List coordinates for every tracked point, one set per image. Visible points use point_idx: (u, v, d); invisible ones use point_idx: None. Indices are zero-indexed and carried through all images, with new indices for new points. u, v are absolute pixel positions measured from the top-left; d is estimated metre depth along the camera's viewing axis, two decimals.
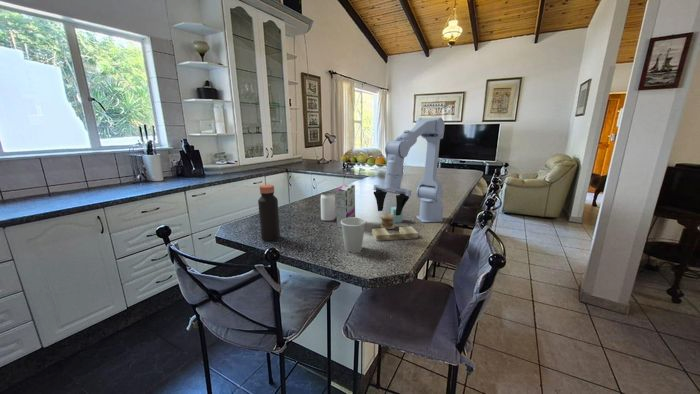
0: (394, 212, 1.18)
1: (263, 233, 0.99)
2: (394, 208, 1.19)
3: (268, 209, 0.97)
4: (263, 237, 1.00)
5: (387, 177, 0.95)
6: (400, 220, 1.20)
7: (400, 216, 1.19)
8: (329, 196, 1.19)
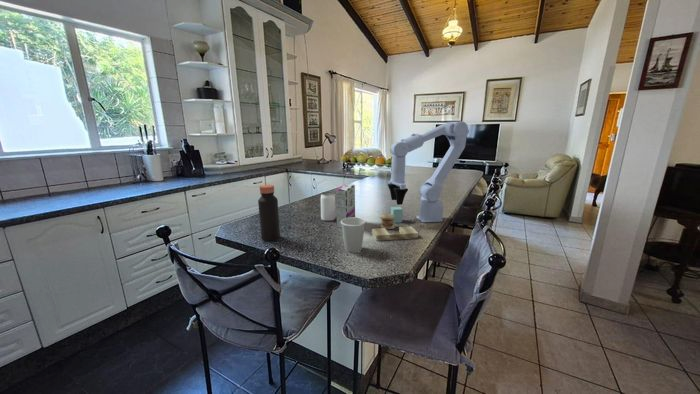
0: (394, 212, 1.18)
1: (263, 233, 0.99)
2: (394, 208, 1.19)
3: (268, 209, 0.97)
4: (263, 237, 1.00)
5: (391, 173, 1.17)
6: (400, 220, 1.20)
7: (400, 216, 1.19)
8: (329, 196, 1.19)
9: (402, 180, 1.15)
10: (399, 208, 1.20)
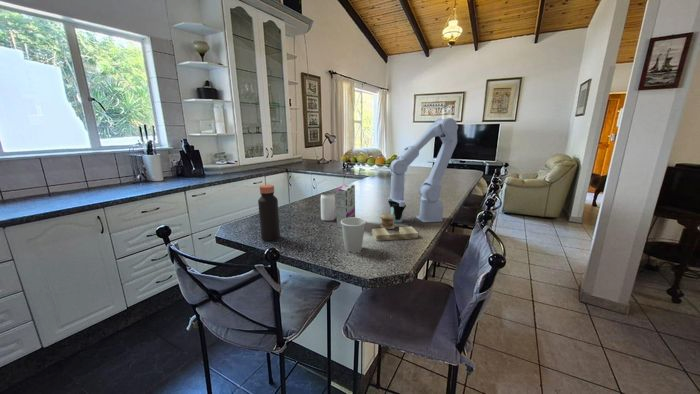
0: None
1: (263, 233, 0.99)
2: None
3: (268, 209, 0.97)
4: (263, 237, 1.00)
5: None
6: (400, 220, 1.20)
7: None
8: (329, 196, 1.19)
9: (401, 197, 1.17)
10: None
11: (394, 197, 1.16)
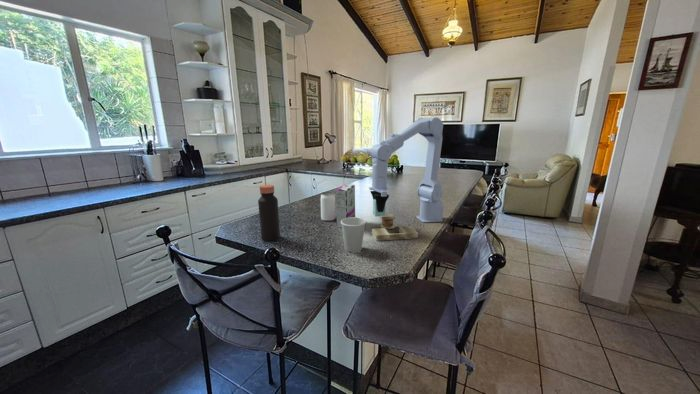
0: (376, 205, 1.06)
1: (263, 233, 0.99)
2: None
3: (268, 209, 0.97)
4: (263, 237, 1.00)
5: (372, 178, 1.06)
6: (383, 213, 1.08)
7: None
8: (329, 196, 1.19)
9: (384, 186, 1.04)
10: None
11: (376, 186, 1.04)
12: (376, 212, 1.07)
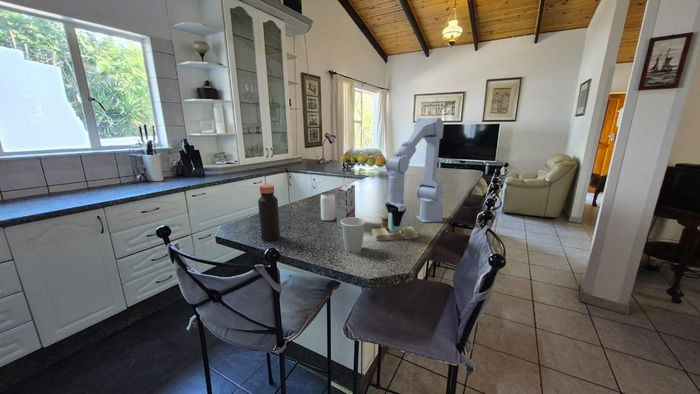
0: (392, 219, 1.01)
1: (263, 233, 0.99)
2: None
3: (268, 209, 0.97)
4: (263, 237, 1.00)
5: (388, 191, 1.01)
6: (399, 228, 1.03)
7: None
8: (329, 196, 1.19)
9: (401, 200, 0.99)
10: None
11: (392, 200, 0.99)
12: (392, 226, 1.02)
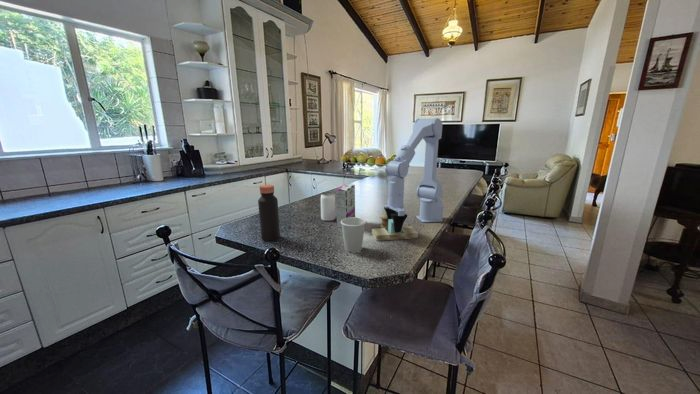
0: (392, 226, 1.02)
1: (263, 233, 0.99)
2: (392, 221, 1.03)
3: (268, 209, 0.97)
4: (263, 237, 1.00)
5: (388, 196, 1.02)
6: None
7: None
8: (329, 196, 1.19)
9: (400, 204, 1.00)
10: None
11: (392, 204, 1.00)
12: (392, 233, 1.03)
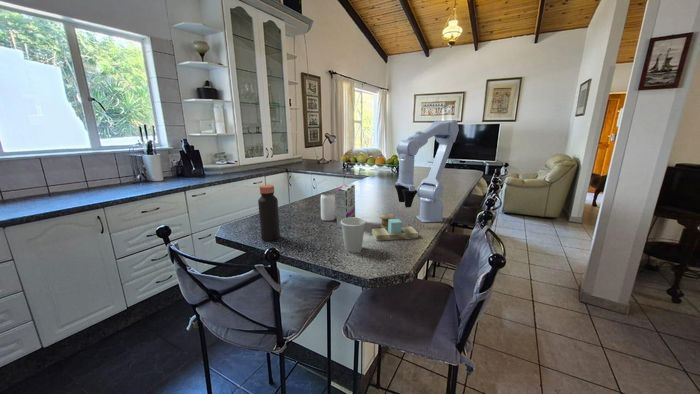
0: (392, 226, 1.02)
1: (263, 233, 0.99)
2: (392, 221, 1.03)
3: (268, 209, 0.97)
4: (263, 237, 1.00)
5: (399, 173, 1.08)
6: None
7: (399, 230, 1.03)
8: (329, 196, 1.19)
9: (411, 181, 1.06)
10: (398, 221, 1.03)
11: (403, 181, 1.06)
12: (392, 233, 1.03)
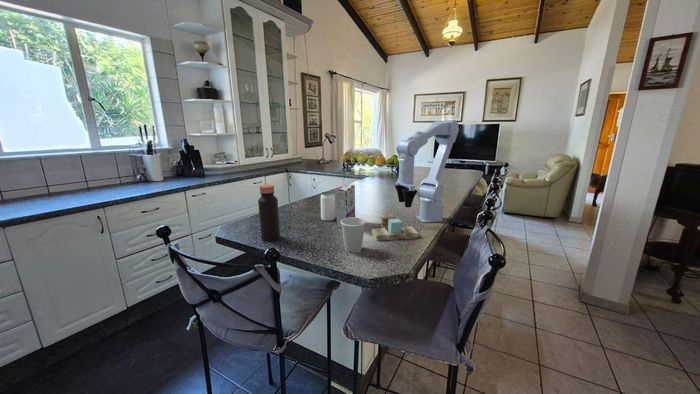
0: (392, 226, 1.02)
1: (263, 233, 0.99)
2: (392, 221, 1.03)
3: (268, 209, 0.97)
4: (263, 237, 1.00)
5: (399, 173, 1.08)
6: None
7: (399, 230, 1.03)
8: (329, 196, 1.19)
9: (411, 181, 1.06)
10: (398, 221, 1.03)
11: (403, 181, 1.06)
12: (392, 233, 1.03)
